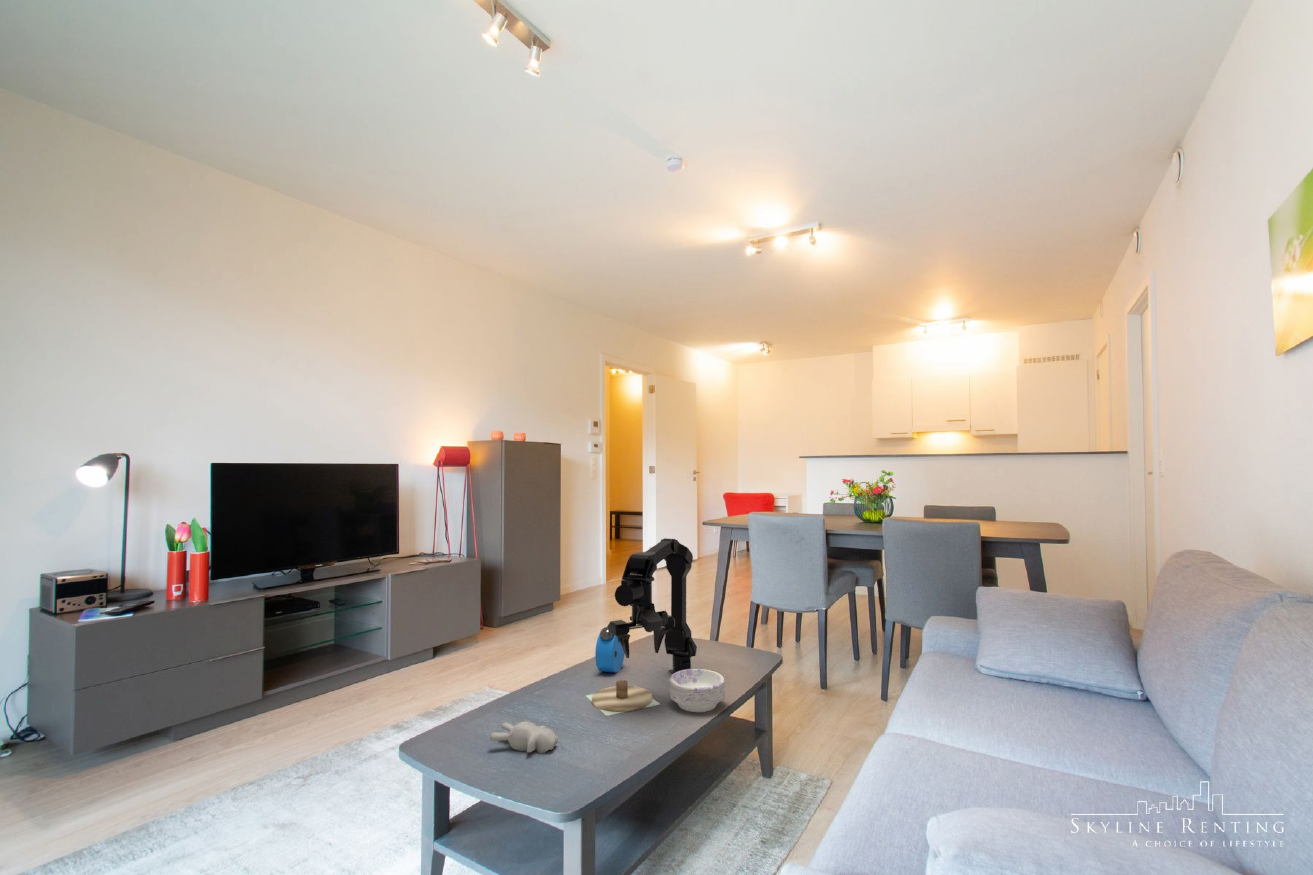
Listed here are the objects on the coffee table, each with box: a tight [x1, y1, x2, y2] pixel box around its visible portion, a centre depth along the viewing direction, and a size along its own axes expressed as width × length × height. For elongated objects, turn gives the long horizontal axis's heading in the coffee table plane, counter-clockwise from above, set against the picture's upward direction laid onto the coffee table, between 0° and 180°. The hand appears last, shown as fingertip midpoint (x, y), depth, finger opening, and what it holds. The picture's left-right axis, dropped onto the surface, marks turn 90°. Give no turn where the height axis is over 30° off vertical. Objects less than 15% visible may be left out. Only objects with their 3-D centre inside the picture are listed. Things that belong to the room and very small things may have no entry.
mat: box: [585, 685, 661, 717], centre depth 168 cm, size 16×16×1 cm
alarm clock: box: [594, 623, 625, 674], centre depth 194 cm, size 13×6×15 cm, turn 165°
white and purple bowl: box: [669, 668, 726, 713], centre depth 165 cm, size 15×15×8 cm
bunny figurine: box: [490, 720, 559, 754], centre depth 142 cm, size 10×5×15 cm
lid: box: [591, 679, 653, 713], centre depth 169 cm, size 17×17×5 cm
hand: (642, 655), depth 168 cm, fingers open, 9 cm apart
